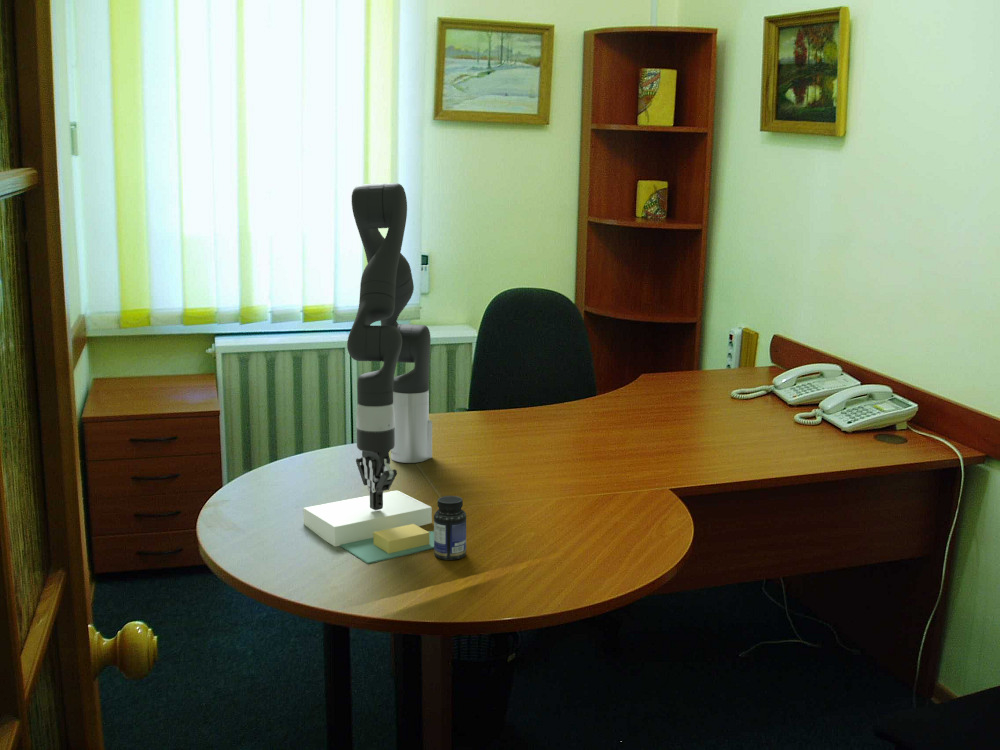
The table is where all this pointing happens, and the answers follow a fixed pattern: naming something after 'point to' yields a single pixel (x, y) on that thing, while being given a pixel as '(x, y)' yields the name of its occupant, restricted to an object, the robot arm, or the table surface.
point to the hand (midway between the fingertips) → (376, 508)
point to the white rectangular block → (364, 517)
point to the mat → (374, 554)
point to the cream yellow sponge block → (401, 538)
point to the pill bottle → (450, 529)
